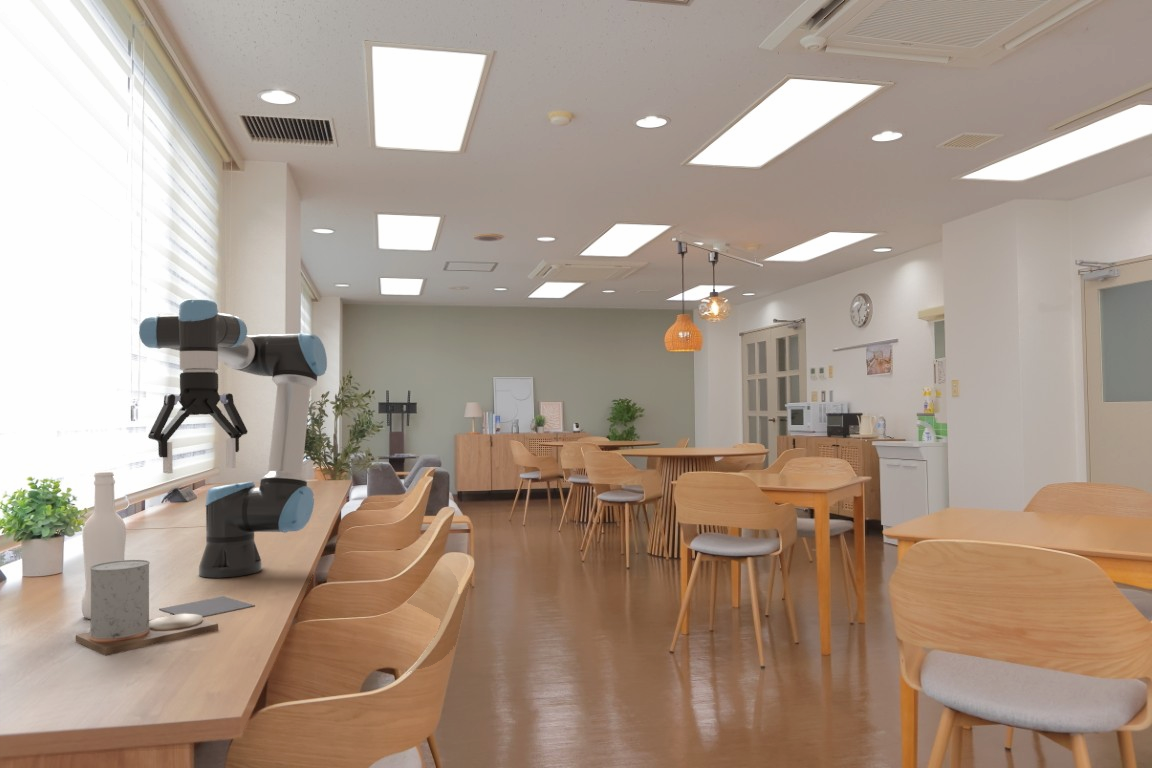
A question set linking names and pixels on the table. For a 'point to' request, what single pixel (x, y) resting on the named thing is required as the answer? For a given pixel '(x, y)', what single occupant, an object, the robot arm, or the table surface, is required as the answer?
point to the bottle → (102, 533)
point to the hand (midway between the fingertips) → (200, 470)
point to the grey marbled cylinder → (119, 599)
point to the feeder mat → (208, 606)
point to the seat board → (152, 633)
